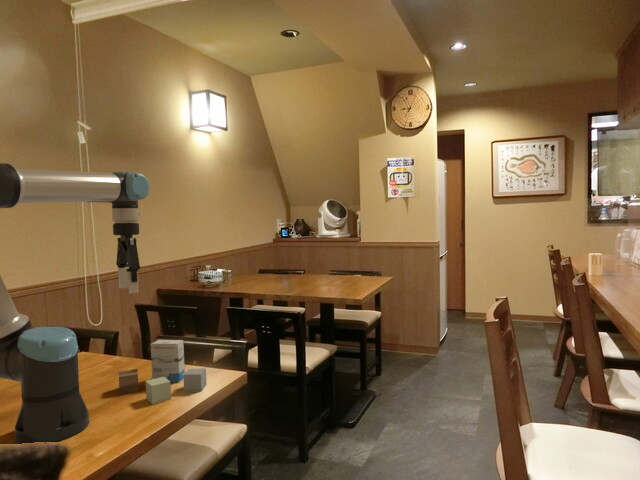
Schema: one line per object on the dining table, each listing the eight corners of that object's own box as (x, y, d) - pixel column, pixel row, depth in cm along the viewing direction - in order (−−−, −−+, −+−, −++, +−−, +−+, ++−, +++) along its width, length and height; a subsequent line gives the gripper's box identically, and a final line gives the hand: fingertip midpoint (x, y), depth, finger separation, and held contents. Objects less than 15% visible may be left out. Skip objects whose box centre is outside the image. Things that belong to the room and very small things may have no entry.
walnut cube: (138, 391, 130) (137, 374, 130) (119, 394, 128) (118, 376, 128) (138, 385, 135) (137, 368, 134) (119, 388, 133) (118, 371, 133)
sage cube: (171, 399, 124) (170, 381, 123) (152, 404, 120) (151, 386, 120) (164, 394, 127) (163, 376, 127) (146, 398, 124) (145, 380, 124)
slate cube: (201, 391, 129) (200, 374, 128) (184, 391, 129) (183, 374, 128) (206, 385, 134) (205, 368, 133) (189, 385, 134) (188, 368, 133)
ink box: (185, 376, 141) (184, 339, 140) (179, 382, 136) (177, 343, 135) (159, 376, 142) (157, 339, 141) (151, 382, 137) (149, 343, 136)
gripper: (149, 221, 134) (151, 293, 135) (129, 222, 154) (131, 284, 155) (122, 222, 129) (124, 296, 130) (105, 222, 150) (107, 287, 151)
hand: (128, 290), depth 143 cm, fingers open, 13 cm apart
